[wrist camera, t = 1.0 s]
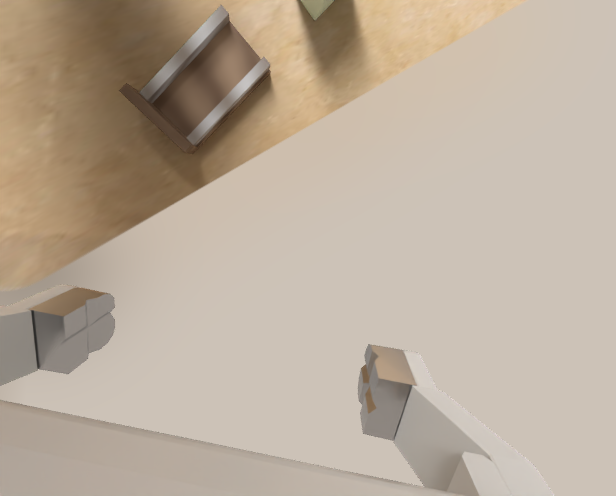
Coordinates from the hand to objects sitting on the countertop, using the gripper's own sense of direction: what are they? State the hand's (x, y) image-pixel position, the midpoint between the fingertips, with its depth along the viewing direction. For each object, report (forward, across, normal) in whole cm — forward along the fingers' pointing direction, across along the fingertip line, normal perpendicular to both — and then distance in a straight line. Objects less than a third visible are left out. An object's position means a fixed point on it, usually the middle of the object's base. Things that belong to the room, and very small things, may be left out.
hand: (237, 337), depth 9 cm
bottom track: (+35, +17, -13) cm, 41 cm away
